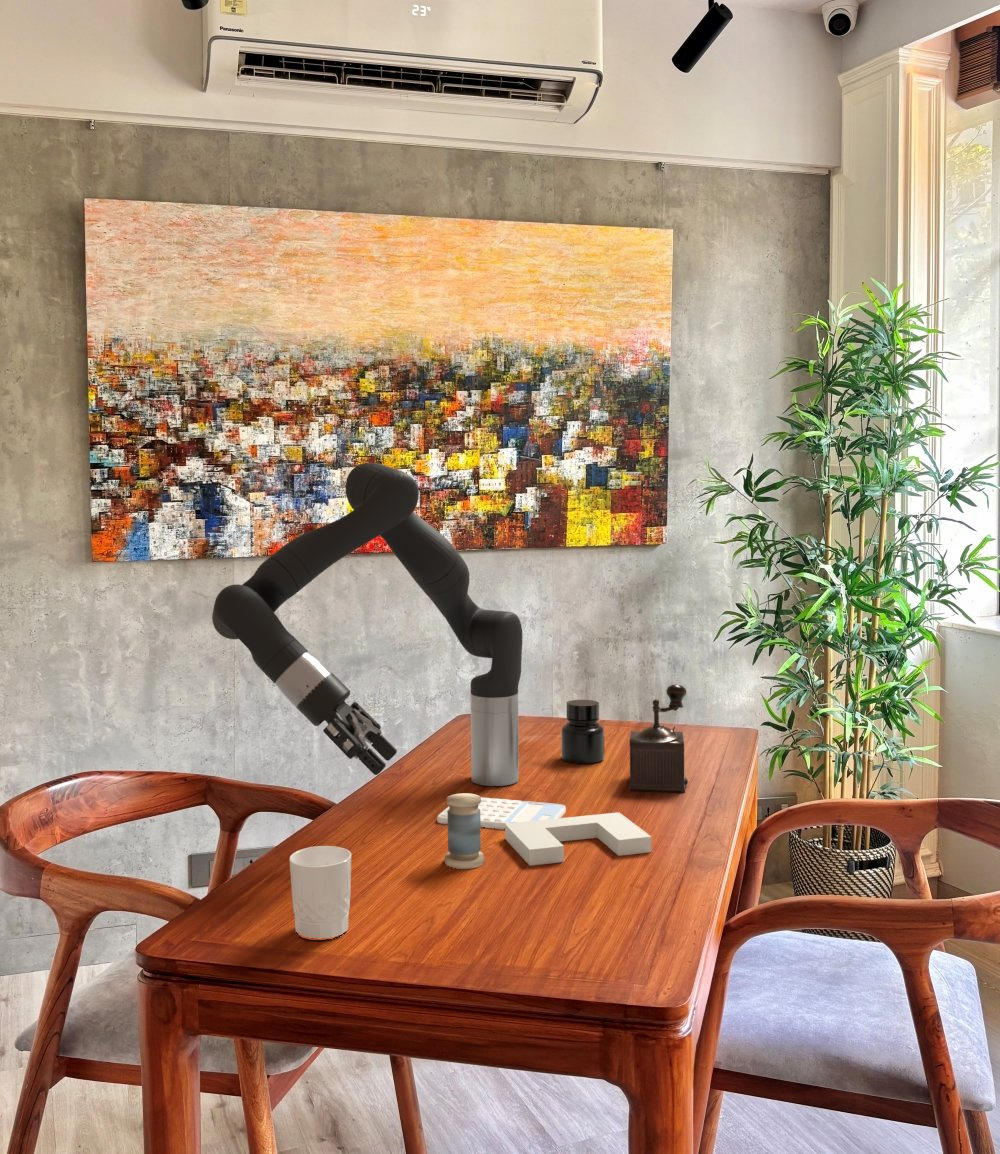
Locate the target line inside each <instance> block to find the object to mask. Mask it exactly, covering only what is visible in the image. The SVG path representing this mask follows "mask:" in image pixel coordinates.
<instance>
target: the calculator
mask: <svg viewBox="0 0 1000 1154" xmlns="http://www.w3.org/2000/svg"><path fill="white" fill-rule="evenodd" d="M480 797H481V803H480V804H478V809H480V826H481V828H483V827H485V828H484V829H494V828H495V829H496V830H504V829H505V824H507V823H517V822H527V821H537V820H548V819H558V818H563V816H564V815H565V814H566V811H567V809H566V808H567V807H566V805H565V804H560V803H551V802H540V801H528V800H527V801H526V800H518V799H509V798H506V799H504V798H491V797H482V796H480ZM448 810H449V806H447V807H446V808H445V809H444V810H443V811H441V812H440V813H439V814H438V815H437V818H436V819H437V820H436V821H437V823H438V824H442V825H448V812H447V811H448ZM495 829H494V830H495Z"/></svg>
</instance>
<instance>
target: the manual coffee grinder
mask: <svg viewBox="0 0 1000 1154" xmlns="http://www.w3.org/2000/svg"><path fill="white" fill-rule="evenodd" d="M665 691H666V692H665V693H666V695H667V696H668V698H669V700H670V702H669V704H668V707H660V700H659V699H653V701H652V705H653V706H652V712H653V725H652V726H648V727H647V728H644V729H643V730H639V731H638V730H637V731H636V730H634V731H632V730H631V731H630V733H629V734H630V735H629V791H630V792H638V793H639V792H640V793H641V792H642V793H671V794H673V793H675V794H676V793H677V794H680V793H681V794H682V793H683V794H685V793H686V787H687V785H688V783H689V782H688V780H689V779H688V778H687V777H685V775H686V774H685V773H686V772H685V771H686V770H685V765H686V764H685V736H684V734H683V731H675V729H676V726H673V728H669V727H667V726H665V725H660V717H659V716H660V713H667V712H670V711H674V712H677V710H679V709H682V708H684V705H683V702H682V701H683V699H684V698H685V697H686V695H687V689H686V688H685V687H684V686H683V685H681V684H671V685H669V686H668V687H667V688H666V690H665Z"/></svg>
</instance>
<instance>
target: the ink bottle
mask: <svg viewBox="0 0 1000 1154" xmlns="http://www.w3.org/2000/svg"><path fill="white" fill-rule="evenodd" d="M599 720H600V702H599V701H597V700H592V699H572V700H568V701H566V721H567V722H566V723H565V724H564V725H563V726H562V727H561V732H560V733H561V736H560V737H561V744H560V745H561V747H560V748H561V751H560V752H561V759H562V760H563V761H565V762H569V763H572V762H573V764H581V763H583V765H585V764H586V765H587V764H595V762H596V763H599V762H601V761H602V760H604V758H605V729H604V727H603V726H602V725H601V724H600V722H598V721H599Z"/></svg>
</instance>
